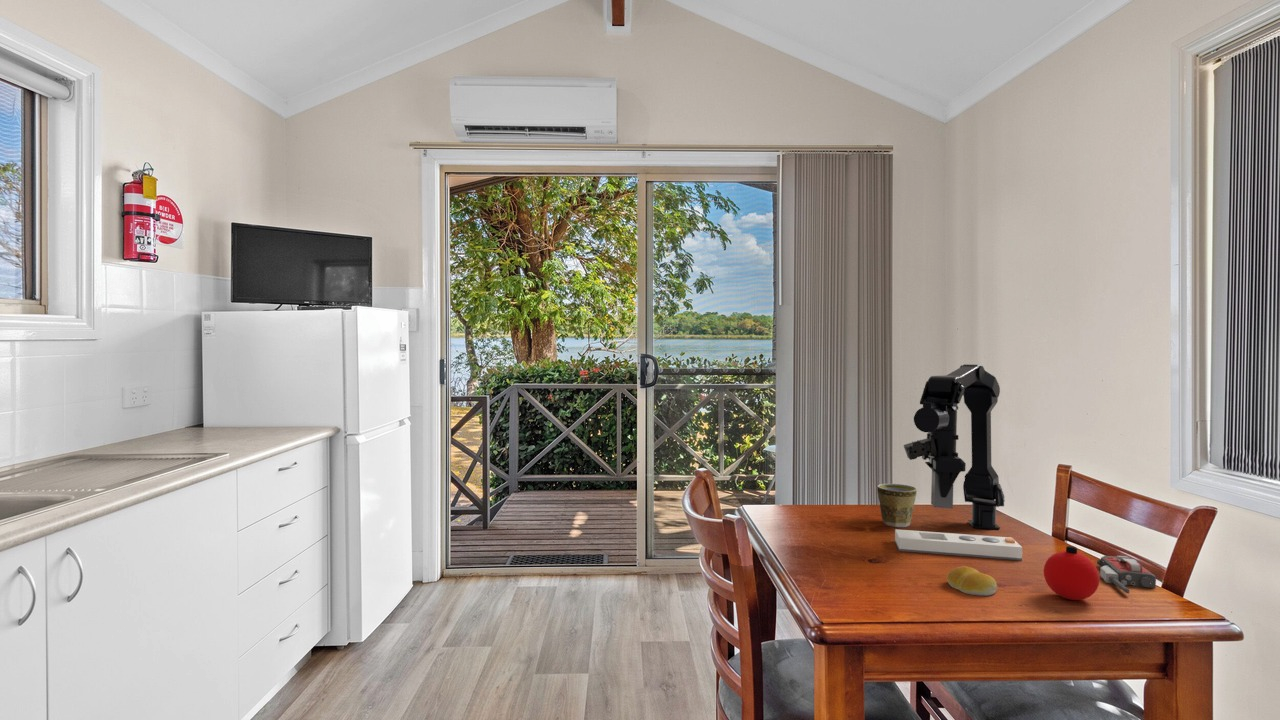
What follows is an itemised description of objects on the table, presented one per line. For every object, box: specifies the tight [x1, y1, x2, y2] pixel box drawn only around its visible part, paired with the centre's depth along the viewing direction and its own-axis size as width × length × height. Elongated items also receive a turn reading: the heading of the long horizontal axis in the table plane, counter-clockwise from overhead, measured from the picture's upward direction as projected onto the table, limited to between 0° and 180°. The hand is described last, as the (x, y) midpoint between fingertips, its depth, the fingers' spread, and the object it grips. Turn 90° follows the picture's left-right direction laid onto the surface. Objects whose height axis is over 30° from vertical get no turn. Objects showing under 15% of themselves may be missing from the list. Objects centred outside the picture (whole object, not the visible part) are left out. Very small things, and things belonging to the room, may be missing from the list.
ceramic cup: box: [876, 483, 918, 528], centre depth 183 cm, size 13×10×10 cm
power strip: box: [894, 528, 1023, 561], centre depth 158 cm, size 8×26×4 cm, turn 76°
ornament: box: [1043, 545, 1101, 601], centre depth 128 cm, size 9×9×10 cm
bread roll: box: [946, 565, 998, 597], centre depth 133 cm, size 8×9×4 cm
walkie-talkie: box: [1096, 555, 1157, 594], centre depth 138 cm, size 9×4×20 cm
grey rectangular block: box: [930, 469, 954, 509], centre depth 159 cm, size 4×4×8 cm
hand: (941, 495), depth 159 cm, fingers closed on grey rectangular block, 4 cm apart
